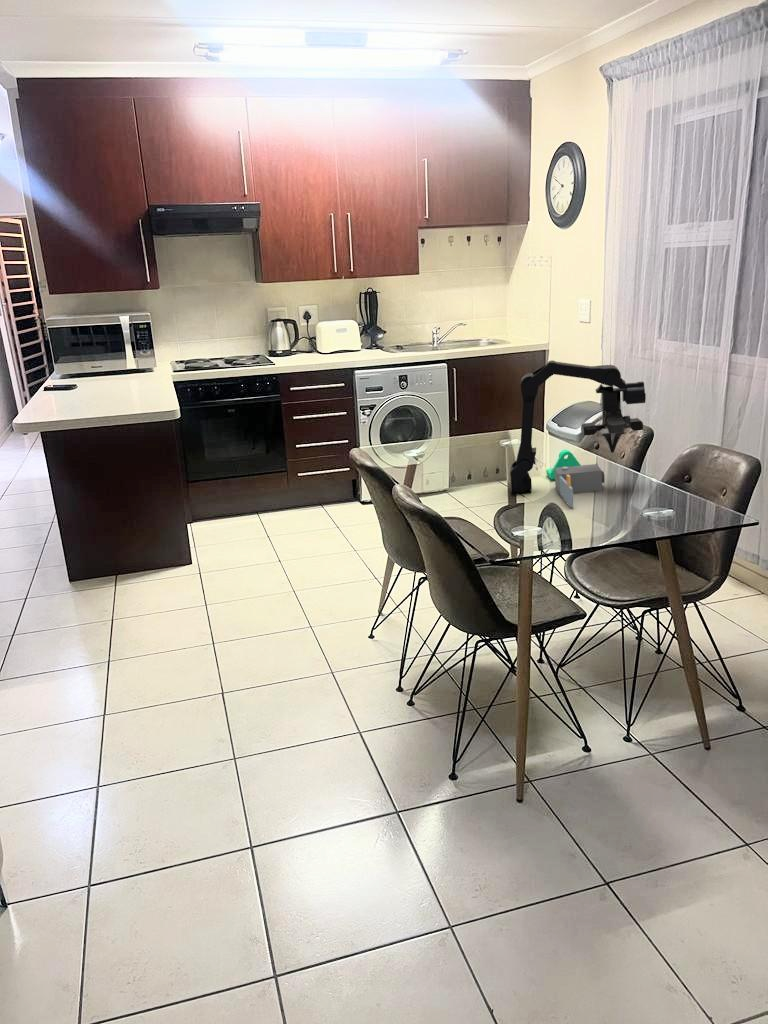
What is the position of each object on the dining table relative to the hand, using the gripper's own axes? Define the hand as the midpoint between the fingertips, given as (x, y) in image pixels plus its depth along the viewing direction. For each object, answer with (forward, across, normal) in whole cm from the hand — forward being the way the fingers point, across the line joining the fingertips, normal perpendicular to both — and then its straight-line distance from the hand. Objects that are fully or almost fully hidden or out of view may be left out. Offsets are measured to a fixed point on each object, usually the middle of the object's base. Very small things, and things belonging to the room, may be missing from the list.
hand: (612, 452), depth 245 cm
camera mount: (+12, -13, +16) cm, 24 cm away
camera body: (+12, -11, +1) cm, 16 cm away
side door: (+12, -17, -10) cm, 23 cm away
